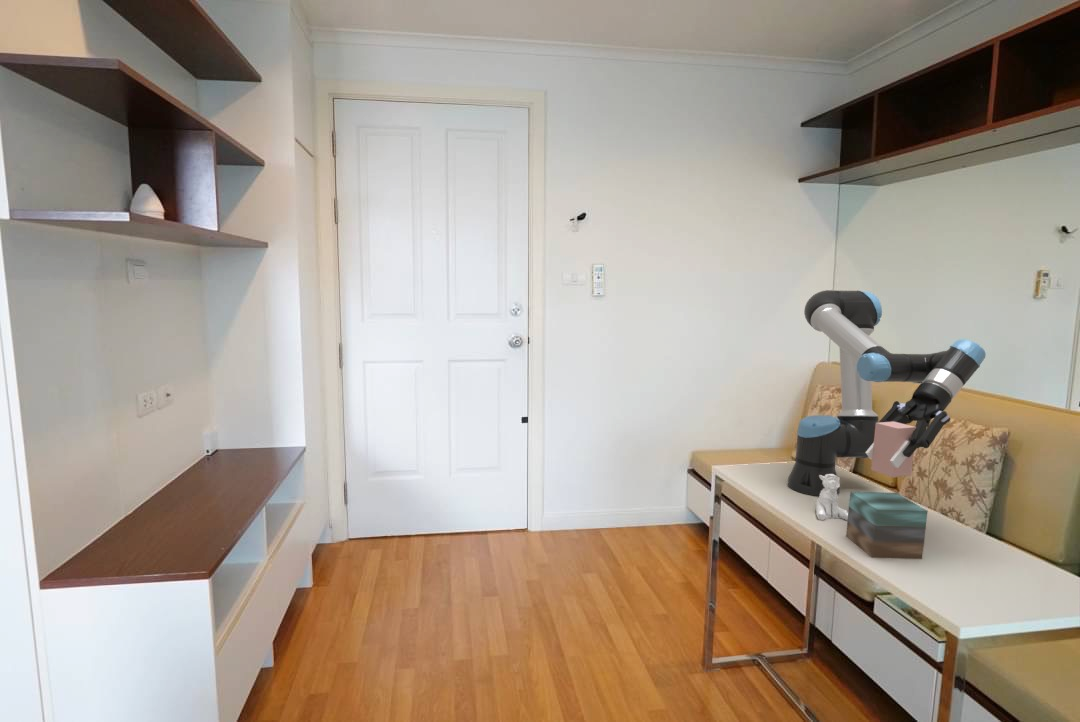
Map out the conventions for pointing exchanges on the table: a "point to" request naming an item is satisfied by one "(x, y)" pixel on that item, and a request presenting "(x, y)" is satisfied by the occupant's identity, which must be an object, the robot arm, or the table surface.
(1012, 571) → the table surface
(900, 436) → the rose brick
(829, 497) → the sitting furry creature
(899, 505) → the teal topped wooden cube
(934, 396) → the robot arm
